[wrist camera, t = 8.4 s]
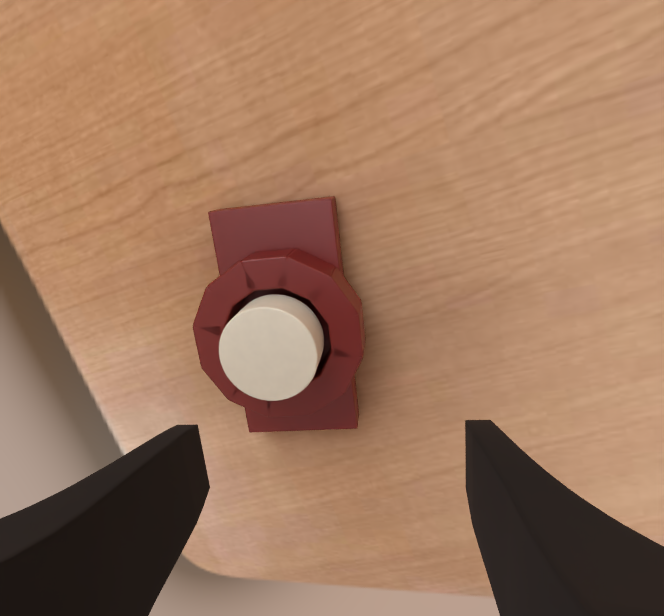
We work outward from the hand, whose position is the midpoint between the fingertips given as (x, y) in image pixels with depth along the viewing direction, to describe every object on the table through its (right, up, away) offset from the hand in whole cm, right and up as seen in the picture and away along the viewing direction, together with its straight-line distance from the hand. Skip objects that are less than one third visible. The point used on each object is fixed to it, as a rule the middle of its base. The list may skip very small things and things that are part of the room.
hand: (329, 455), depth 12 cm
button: (-2, +3, +6) cm, 7 cm away
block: (-2, +4, +8) cm, 9 cm away
